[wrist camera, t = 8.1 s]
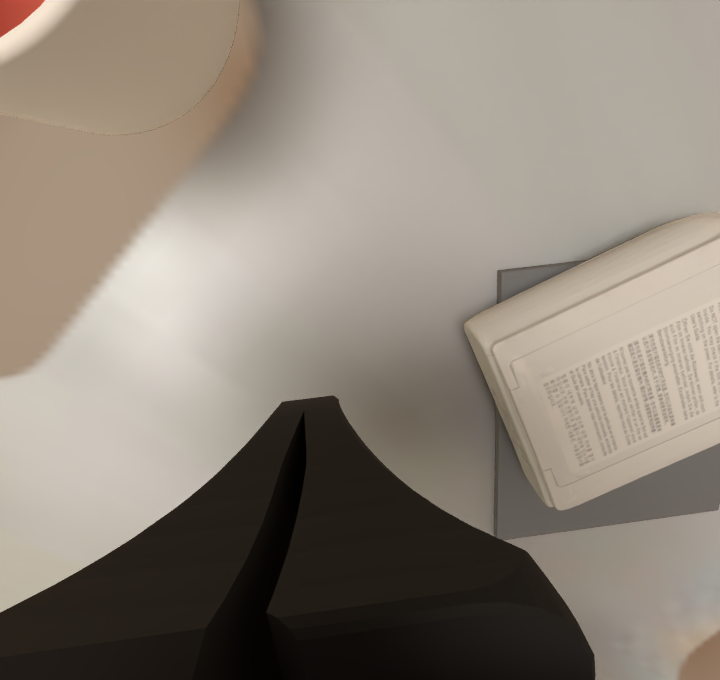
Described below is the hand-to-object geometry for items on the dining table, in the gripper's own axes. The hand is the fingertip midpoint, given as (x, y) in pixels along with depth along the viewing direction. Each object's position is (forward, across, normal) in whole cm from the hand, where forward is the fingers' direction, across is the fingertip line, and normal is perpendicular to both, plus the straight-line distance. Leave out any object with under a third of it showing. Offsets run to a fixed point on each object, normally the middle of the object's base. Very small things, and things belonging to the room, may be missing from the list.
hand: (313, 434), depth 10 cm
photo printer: (+8, -8, +6) cm, 12 cm away
